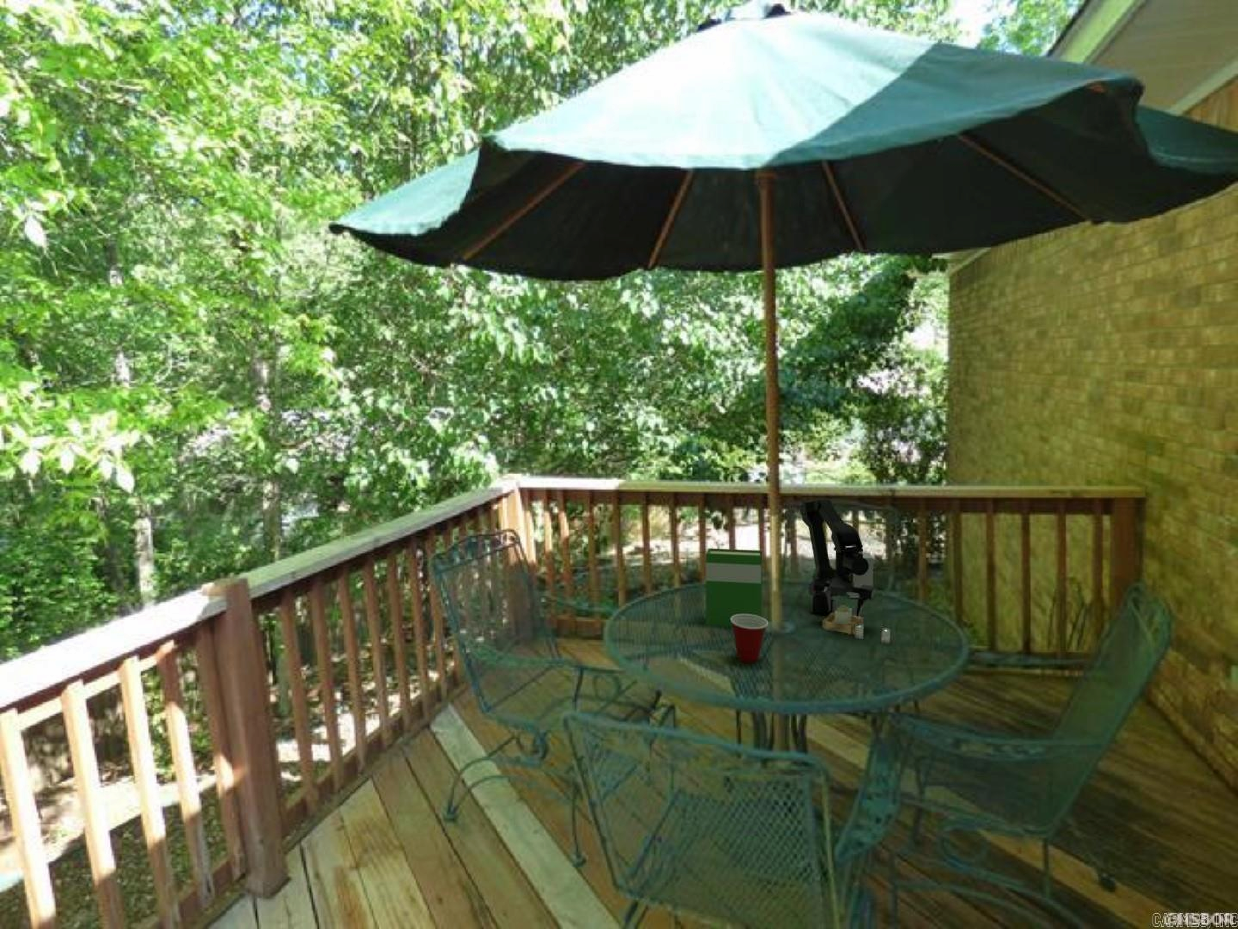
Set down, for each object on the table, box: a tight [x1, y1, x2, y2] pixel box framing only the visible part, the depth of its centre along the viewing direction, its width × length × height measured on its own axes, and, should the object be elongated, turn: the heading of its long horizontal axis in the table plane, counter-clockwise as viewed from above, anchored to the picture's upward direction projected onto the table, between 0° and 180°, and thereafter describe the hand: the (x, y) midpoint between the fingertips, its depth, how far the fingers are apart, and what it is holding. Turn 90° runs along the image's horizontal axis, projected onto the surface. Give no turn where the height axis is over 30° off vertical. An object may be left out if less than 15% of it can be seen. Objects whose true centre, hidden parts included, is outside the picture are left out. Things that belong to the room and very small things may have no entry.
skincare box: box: [846, 552, 874, 599], centre depth 276 cm, size 8×7×16 cm
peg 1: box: [854, 624, 864, 640], centre depth 236 cm, size 2×2×4 cm
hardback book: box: [705, 547, 763, 628], centre depth 250 cm, size 18×7×24 cm, turn 78°
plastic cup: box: [730, 614, 769, 664], centre depth 219 cm, size 11×11×12 cm
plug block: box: [834, 604, 853, 625], centre depth 246 cm, size 4×5×6 cm
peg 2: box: [880, 627, 891, 645], centre depth 232 cm, size 2×2×4 cm
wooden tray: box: [821, 612, 864, 636], centre depth 246 cm, size 10×11×2 cm
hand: (843, 614), depth 245 cm, fingers open, 9 cm apart
